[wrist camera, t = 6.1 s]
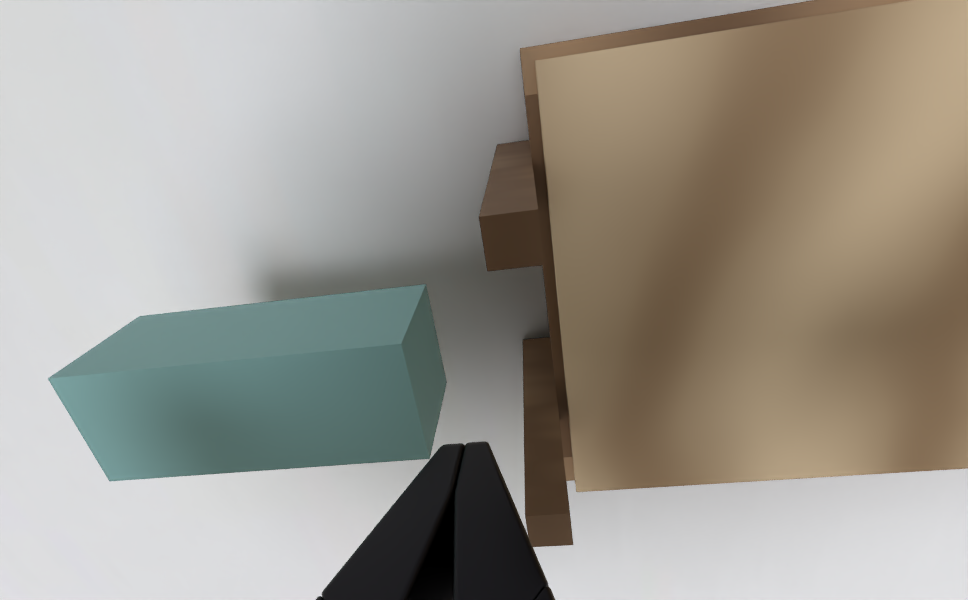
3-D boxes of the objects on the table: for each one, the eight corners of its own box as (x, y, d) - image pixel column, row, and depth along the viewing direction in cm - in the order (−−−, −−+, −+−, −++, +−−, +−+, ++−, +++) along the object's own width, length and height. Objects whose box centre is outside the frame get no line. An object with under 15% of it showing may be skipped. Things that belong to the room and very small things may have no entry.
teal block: (425, 284, 13) (401, 343, 10) (446, 382, 14) (429, 458, 11) (139, 316, 14) (47, 378, 11) (182, 405, 15) (109, 481, 12)
